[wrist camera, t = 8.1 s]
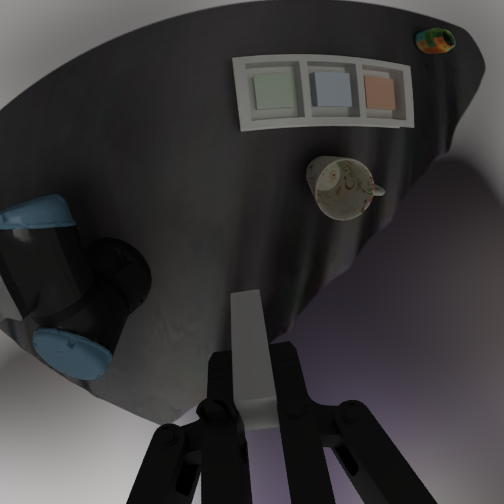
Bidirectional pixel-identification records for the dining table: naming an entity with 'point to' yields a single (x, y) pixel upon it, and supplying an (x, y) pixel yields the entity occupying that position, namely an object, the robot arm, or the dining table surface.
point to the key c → (379, 93)
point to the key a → (273, 91)
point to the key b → (331, 89)
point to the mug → (341, 186)
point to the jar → (435, 41)
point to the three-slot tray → (302, 92)
